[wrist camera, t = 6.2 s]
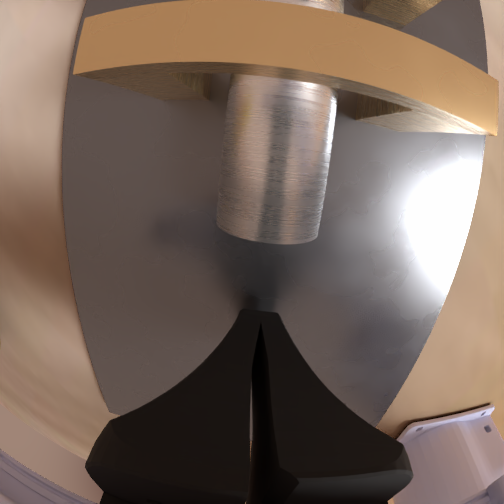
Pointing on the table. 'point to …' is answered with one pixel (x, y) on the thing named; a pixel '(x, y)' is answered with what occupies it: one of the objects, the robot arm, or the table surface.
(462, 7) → the plate
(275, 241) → the tube
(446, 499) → the robot arm
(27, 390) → the table surface
